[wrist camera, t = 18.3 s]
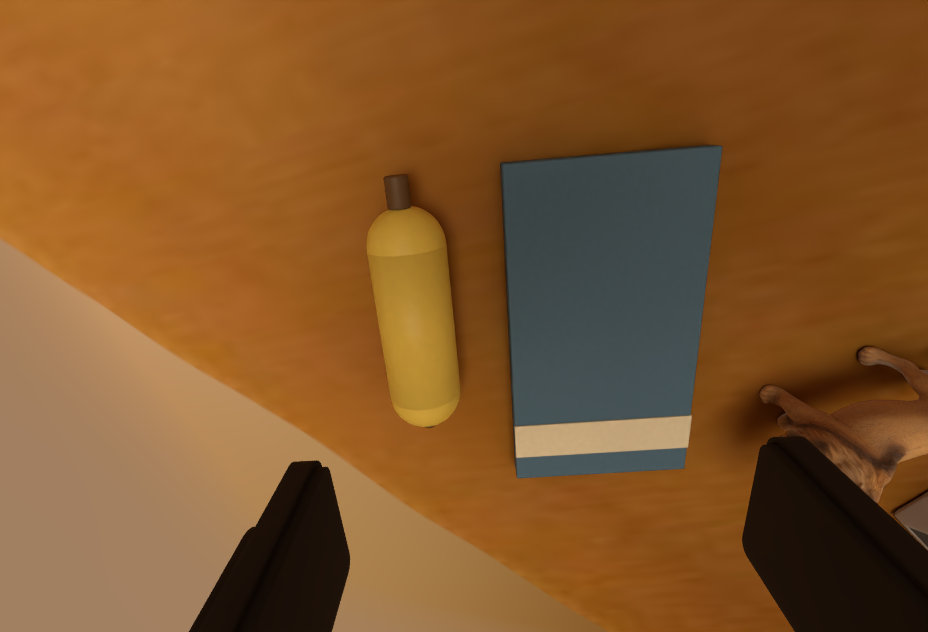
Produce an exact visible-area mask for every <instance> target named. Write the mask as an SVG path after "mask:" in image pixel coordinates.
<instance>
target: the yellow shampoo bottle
mask: <svg viewBox="0 0 928 632" xmlns="http://www.w3.org/2000/svg"><path fill="white" fill-rule="evenodd" d="M384 185H385V192H386V199H387V206H388V210H386V211H384V212H383V213H381V214H380V215H379V216H378V217H377V218H376V219H375V220H374V222H373V223H372V225H371V226H370V229H369V232H368V234H367V240H366V252H367V257H368V263H369V270H370V276H371V282H372V288H373V294H374V300H375V306H376V312H377V319H378V325H379V331H380V337H381V343H382V349H383V355H384V361H385V367H386V374H387V380H388V386H389V392H390V398H391V402H392V405H393V407H394V409H395V411H396V412H397V413H398V415H399V416H400V417H401V418H402V419H403V420H405V421H407V422H408V423H410V424H412V425H416V426H420V427H425V428H432V427H434V426H436V425H437V424H440V423H441V422H443V421H445V420H446V419H448V418H449V417H450V416H451V414H452V413H453V412H454V411H455V409H456V407H457V405H458V403H459V399H460V378H459V368H458V358H457V347H456V337H455V327H454V317H453V306H452V296H451V286H450V276H449V265H448V255H447V245H446V239H445V234H444V232H443V229H442V227H441V226H440V224H439V223H438V221H437V220H436V219H435V218H434V217H433V216H432V215H431V214H430V213H428V212H427V211H425V210H423V209H421V208H418V207H415V206H411V198H410V190H409V182H408V175H406V174H401V175H390V176H385V177H384Z"/></svg>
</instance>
